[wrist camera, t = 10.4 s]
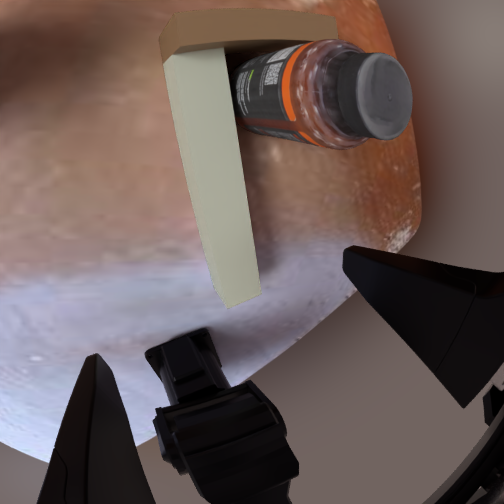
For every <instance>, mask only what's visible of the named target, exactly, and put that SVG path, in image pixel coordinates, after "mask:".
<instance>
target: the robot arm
mask: <svg viewBox="0 0 504 504" xmlns="http://www.w3.org/2000/svg"><path fill="white" fill-rule="evenodd" d="M342 268H343V271H344V273H345V274H346V276H347V277H348V278H349V279H350V281H351V282H352V283H353V284H354V286H355V287H356V288H357V290H358V291H359V292H360V293H361V295H362V296H363V297H364V298H365V300H366V301H367V302H368V303H369V304H370V305H371V306H372V307H373V308H374V309H375V310H376V311H377V312H378V314H379V315H380V316H382V318H383V319H384V320H385V321H386V322H387V323H388V324H389V325H390V326H391V327H392V328H393V329H394V331H395V332H396V333H397V334H398V335H399V336H400V337H401V338H402V339H403V340H404V341H405V342H406V344H407V345H408V346H409V347H410V348H411V349H412V350H413V351H414V352H415V354H416V355H417V356H418V357H419V358H420V359H421V360H422V361H423V362H424V364H425V365H426V366H427V367H428V368H429V369H430V370H431V372H432V373H433V374H434V375H435V376H436V377H437V379H438V380H439V381H440V382H441V383H442V385H444V387H445V388H446V389H447V390H448V392H449V393H450V394H451V395H452V396H453V398H454V399H455V400H456V401H457V402H458V404H459V405H460V406H461V407H462V408H465V407H466V406H467V405H468V404H469V403H470V402H471V401H472V400H473V399H474V398H475V397H476V395H477V394H478V393H479V392H480V391H481V390H482V389H483V388H484V386H485V385H486V384H487V383H488V382H489V381H490V382H491V383H492V384H491V386H490V388H489V389H488V391H487V392H486V394H485V395H484V396H483V405H484V417H485V423H486V424H487V425H488V426H489V428H488V429H487V431H486V432H485V433H484V435H483V436H482V438H481V439H480V440H479V442H478V443H477V445H476V446H475V447H474V448H473V450H472V451H471V452H470V453H469V455H468V456H467V457H466V458H465V459H464V461H463V462H462V463H461V464H460V466H459V467H458V468H457V469H456V470H455V471H454V472H453V473H452V474H451V476H450V477H449V478H448V479H447V480H446V481H445V482H444V483H443V484H442V485H441V486H440V487H439V488H438V489H437V490H436V491H435V492H434V493H433V494H432V495H431V496H430V497H429V498H428V499H427V500H426V501H425V502H424V503H423V504H504V272H499V273H498V272H489V271H482V270H476V269H469V268H463V267H457V266H452V265H447V264H443V263H438V262H434V261H429V260H425V259H420V258H415V257H410V256H405V255H400V254H396V253H391V252H386V251H381V250H376V249H371V248H366V247H361V246H355V245H352V246H350V247H348V248H346V249H345V250H344V252H343V265H342ZM203 333H205V334H203ZM149 355H150V356H149ZM145 358H146V359H147V361H148V362H149V364H150V365H151V367H152V368H153V370H154V371H155V373H156V374H157V376H158V377H159V378H160V380H161V381H162V383H163V385H164V388H165V390H166V393H167V396H168V399H169V402H170V405H171V406H167V407H163V408H161V407H159V408H155V410H156V414H157V416H155V419H154V420H153V424H154V427H155V430H156V433H157V436H158V441H159V446H160V451H161V455H162V458H163V460H164V461H166V462H168V463H170V464H172V465H173V467H174V468H176V469H177V471H178V473H179V474H180V475H185V474H189V475H190V477H191V479H192V481H193V483H194V485H195V487H196V489H197V491H198V493H199V494H200V496H202V497H203V498H205V499H206V500H207V501H208V502H209V503H211V504H292V502H291V501H290V499H289V497H288V493H289V488H290V482H291V479H293V478H295V477H297V476H298V475H299V462H298V460H297V459H296V457H295V456H294V454H293V452H292V450H291V448H290V447H289V445H288V443H287V440H286V436H287V430H286V426H285V423H284V420H283V418H282V416H281V414H280V412H279V411H278V409H277V408H276V407H275V405H274V404H273V403H272V402H271V401H270V400H269V399H268V398H267V397H266V396H265V395H264V394H263V393H262V392H261V390H260V389H259V388H258V387H257V386H256V385H255V384H254V383H253V382H252V381H251V380H248V381H246V382H245V383H243V384H240V385H237V386H234V387H231V386H230V384H229V382H228V381H227V379H226V377H225V375H224V373H223V371H222V370H221V367H222V365H221V362H220V360H219V357H218V355H217V352H216V350H215V347H214V344H213V342H212V339H211V336H210V334H209V332H208V330H207V329H206V328H203V329H200V330H198V331H195V332H193V333H190V334H188V335H185V336H183V337H180V338H178V339H176V340H173V341H170V342H168V343H165V344H163V345H160V346H158V347H155V348H153V349H150V350H147V351H146V352H145ZM54 447H55V448H54V449H53V452H52V455H51V459H50V462H49V466H48V469H47V473H46V476H45V479H44V482H43V485H42V488H41V491H40V494H39V497H38V500H37V504H156V502H155V500H154V498H153V495H152V493H151V490H150V487H149V485H148V482H147V479H146V476H145V474H144V471H143V468H142V465H141V462H140V459H139V456H138V452H137V449H136V446H135V442H134V439H133V435H132V432H131V428H130V424H129V420H128V417H127V414H126V411H125V408H124V405H123V402H122V399H121V396H120V393H119V390H118V387H117V384H116V381H115V378H114V375H113V372H112V370H111V368H110V367H109V366H108V365H107V363H106V362H105V361H104V360H103V358H102V357H101V356H100V355H99V354H98V353H95V354H93V355H90V356H88V357H86V359H85V362H84V364H83V366H82V369H81V371H80V374H79V376H78V379H77V381H76V384H75V386H74V389H73V392H72V394H71V397H70V400H69V402H68V405H67V408H66V411H65V414H64V417H63V420H62V423H61V426H60V429H59V432H58V435H57V438H56V442H55V445H54ZM480 486H481V488H480V489H479V487H480ZM478 489H479V490H478Z"/></svg>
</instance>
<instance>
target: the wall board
mask: <svg viewBox="0 0 504 504" xmlns="http://www.w3.org/2000/svg"><path fill="white" fill-rule="evenodd" d="M324 39H339V38H338V31H337V25H336V19H335V17H333V16H327V15H321V14H315V13H307V12H299V11H289V10H277V9H255V8H229V9H208V10H196V11H186V12H178V13H175V14H174V15H173V16H172V18H171V19H170V21H169V22H168V24H167V26H166V27H165V29H164V30H163V32H162V33H161V35H160V37H159V42H160V48H161V55H162V61H163V67H164V72H165V78H166V84H167V89H168V95H169V100H170V105H171V110H172V115H173V120H174V125H175V130H176V135H177V140H178V144H179V149H180V154H181V158H182V163H183V167H184V172H185V176H186V180H187V185H188V189H189V193H190V197H191V202H192V206H193V210H194V214H195V218H196V222H197V226H198V230H199V234H200V238H201V241H202V245H203V249H204V253H205V257H206V260H207V264H208V268H209V271H210V275H211V279H212V282H213V286H214V289H215V290H216V292H217V293H218V295H219V296H220V298H221V300H222V301H223V303H224V304H225V306H226V307H227V309H229V308H231V307H234V306H236V305H238V304H240V303H243V302H245V301H247V300H250V299H252V298H254V297H256V296H259V295H261V294H262V293H261V286H260V279H259V273H258V266H257V260H256V253H255V246H254V240H253V233H252V227H251V220H250V214H249V207H248V201H247V194H246V188H245V181H244V175H243V168H242V162H241V155H240V149H239V143H238V136H237V130H236V123H235V117H234V111H233V104H232V98H231V91H230V85H229V79H228V72H227V66H226V60H225V54H234V53H248V52H270V51H278V50H282V49H285V48H289V47H293V46H297V45H301V44H305V43H309V42H315V41H319V40H324Z"/></svg>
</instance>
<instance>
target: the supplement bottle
mask: <svg viewBox="0 0 504 504" xmlns="http://www.w3.org/2000/svg"><path fill="white" fill-rule="evenodd" d="M229 85H230V91H231V98H232V104H233V111H234V117H235V121H236V122H237V123H238V124H239V125H240V126H241V127H243V128H244V129H246V130H248V131H251V132H253V133H257V134H260V135H266V136H271V137H277V138H282V139H288V140H293V141H298V142H303V143H307V144H312V145H316V146H321V147H325V148H330V149H339V150H344V149H350V148H354V147H356V146H359V145H361V144H363V143H364V142H366V141H367V140H368V139H369V138H376V139H380V140H391V139H394V138H396V137H398V136H399V135H400V134H401V133H402V132H403V131H404V129H405V128H406V126H407V125H408V122H409V119H410V116H411V111H412V91H411V86H410V82H409V79H408V77H407V74H406V73H405V70H404V69H403V67H402V66H401V65H400V63H399V62H398V61H397V60H396V59H395V58H393V57H392V56H390V55H387V54H385V53H365V52H364V51H363V50H362V49H360V48H359V47H358V46H356V45H354V44H352V43H350V42H347V41H344V40H339V39H324V40H319V41H315V42H309V43H305V44H301V45H297V46H293V47H289V48H285V49H282V50H278V51H275V52H271V53H268V54H264V55H261V56H258V57H255V58H252V59H250V60H247V61H245V62H244V63H242V64H241V65H239V66H238V67H237V68H236V69H235V70H234V71H233V73H232V75H231V76H230V78H229Z"/></svg>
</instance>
